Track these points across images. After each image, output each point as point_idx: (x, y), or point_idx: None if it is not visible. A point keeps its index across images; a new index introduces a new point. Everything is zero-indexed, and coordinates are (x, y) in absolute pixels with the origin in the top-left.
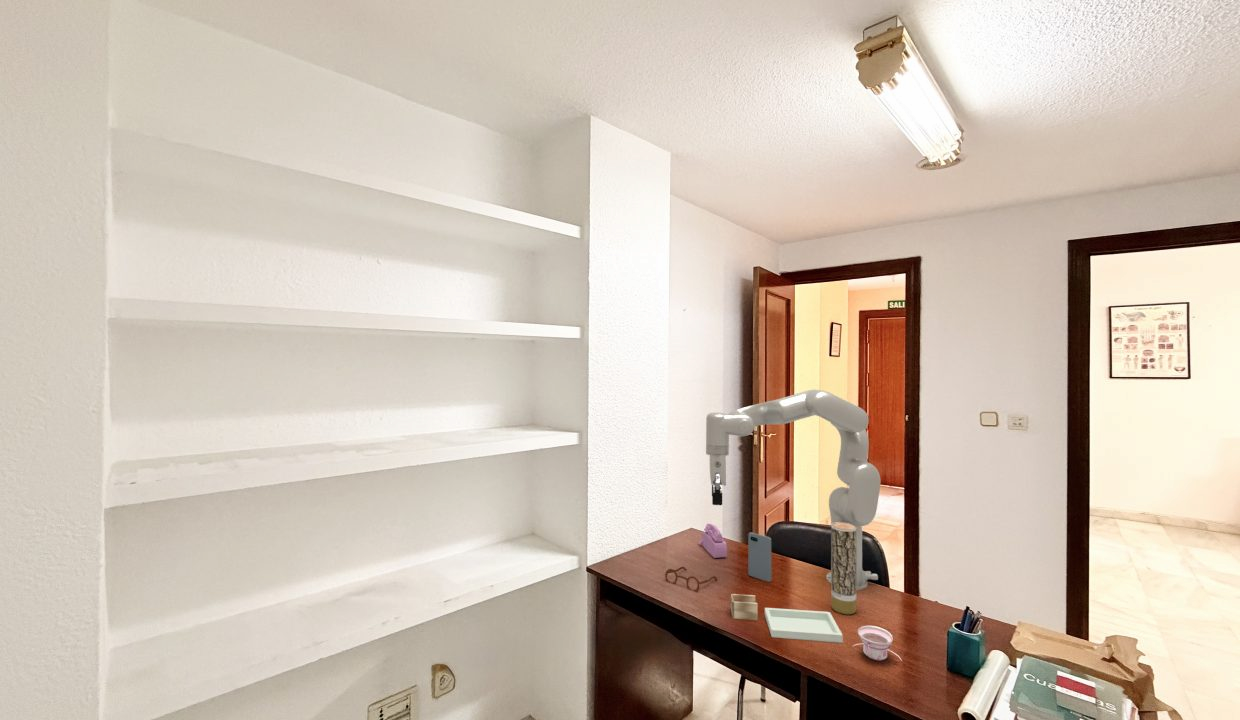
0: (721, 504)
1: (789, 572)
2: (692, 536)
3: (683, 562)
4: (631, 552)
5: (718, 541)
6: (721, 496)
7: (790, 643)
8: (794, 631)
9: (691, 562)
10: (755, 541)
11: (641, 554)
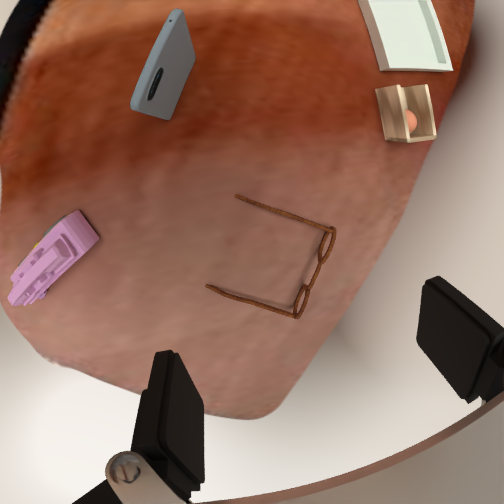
0: (438, 281)
1: (109, 31)
2: (21, 317)
3: (166, 303)
4: None
5: (70, 246)
6: (482, 318)
7: None
8: (442, 33)
9: (155, 285)
10: (159, 79)
11: None
